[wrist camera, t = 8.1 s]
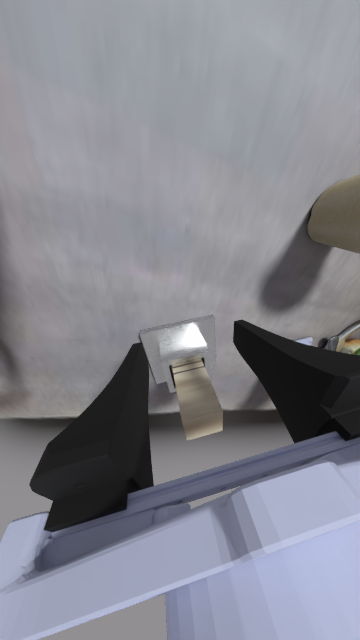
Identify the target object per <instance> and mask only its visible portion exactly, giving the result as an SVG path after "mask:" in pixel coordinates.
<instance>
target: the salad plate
mask: <svg viewBox="0 0 360 640" xmlns="http://www.w3.org/2000/svg"><path fill="white" fill-rule="evenodd" d="M359 328H360V321H358V322H356V323H354V324H352V325H350V326H349V327H347V328H346V329H345V330H343V331H342V332H341V333H340V334H338V335H337V336H333V337H331V338H330V339H329V340H328V343H327V344H326V345H325V347H324V348H323V349H327V350H331V351H337V352H342V353H348V354H354V355H360V339H353V337H350V336H351V335H352V333H354V332H355V331H356V330H358V329H359Z"/></svg>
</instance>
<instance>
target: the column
mask: <svg viewBox="0 0 360 640" xmlns="http://www.w3.org/2000/svg"><path fill="white" fill-rule="evenodd" d="M172 369H173V375H174V380H175V385H176V390H177V396H178V401H179V407H180V412H181V417H182V423H183V427H184V430H185V434H186V438H187V440H191V439H194V438H198V437H201V436H205V435H208V434H212V433H215V432H219V431H222V430H223V410H222V408H221V405H220V403H219V401H218V398H217V396H216V393H215V391H214V389H213V386H212V384H211V381H210V379H209V377H208V374H207V372H206V369H205V367H204V365H203V362H202V360H201V358H199V359H195V360H190V361H186V362H182V363H178V364H174V365H172Z"/></svg>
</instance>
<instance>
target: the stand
mask: <svg viewBox="0 0 360 640" xmlns="http://www.w3.org/2000/svg"><path fill="white" fill-rule="evenodd" d="M140 337H141V340H142V343H143V346H144V349H145V352H146V354H147V357H148V360H149V363H150V366H151V369H152V372H153V375H154V378H155V381H156V384H159V383H163V382H167V384H168V388H169V391H170V393H173V392H177V390H176V385H175V380H174V375H173V369H172V365H174V364H178V363H182V362H186V361H190V360H195V359H199V358H201V360H202V362H203V365H204V367H205V369H206V372H207V374H208V377H209V379H210V381H211V370H215V369H216V337H215V317H214V316H213V314H212V315H208V316H203V317H199V318H194V319H189V320H185V321H180V322H176V323H171V324H167V325H162V326H157V327H153V328H148V329H144V330H140ZM211 383H212V382H211Z"/></svg>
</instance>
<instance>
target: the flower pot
mask: <svg viewBox="0 0 360 640" xmlns="http://www.w3.org/2000/svg"><path fill="white" fill-rule="evenodd" d="M307 228H308V234H309V236H310V238H311V239H312V240H313V241H315V242H317V243H322V244H326V245H330V246H333V247H337V248H341V249H344V250H348V251H352V252H355V253H359V254H360V175H357V176H354V177H352V178H349V179H346V180H343V181H340V182H338V183H336V184H334V185H332V186H331V187H329V188H328V189H327V190H326V191H325V192H324V193H323V194H322V195H321V196H320V197H319V198H318V200H317V201H316V203H315V204H314V206H313V208H312V213H311V217H310V220H309V222H308V225H307Z"/></svg>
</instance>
